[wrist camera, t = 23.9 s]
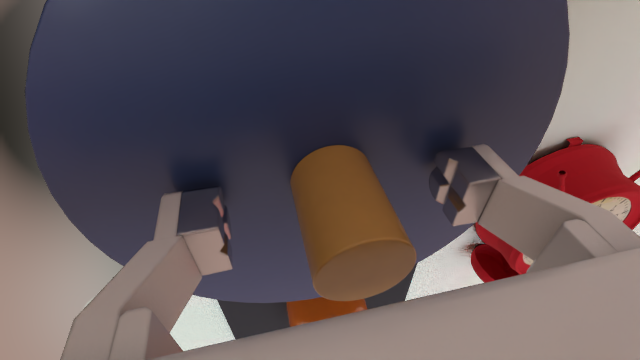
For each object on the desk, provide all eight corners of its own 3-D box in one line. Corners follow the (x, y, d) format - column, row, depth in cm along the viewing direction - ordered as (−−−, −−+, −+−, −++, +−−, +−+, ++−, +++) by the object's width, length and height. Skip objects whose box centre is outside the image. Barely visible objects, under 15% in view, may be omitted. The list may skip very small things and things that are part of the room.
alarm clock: (709, 148, 19) (613, 317, 26) (605, 114, 24) (550, 262, 32) (548, 180, 17) (496, 349, 25) (476, 136, 23) (451, 286, 30)
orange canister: (282, 285, 25) (299, 397, 19) (363, 268, 26) (400, 370, 20) (289, 322, 29) (304, 421, 24) (358, 307, 30) (387, 399, 25)
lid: (-176, -169, 5) (-1039, -267, 2) (656, -168, 7) (1039, -207, 4) (164, 307, 15) (148, 428, 12) (462, 245, 18) (519, 332, 14)
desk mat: (191, 238, 20) (190, 243, 19) (436, 194, 22) (439, 198, 22) (246, 358, 33) (246, 362, 33) (394, 323, 36) (395, 327, 35)
